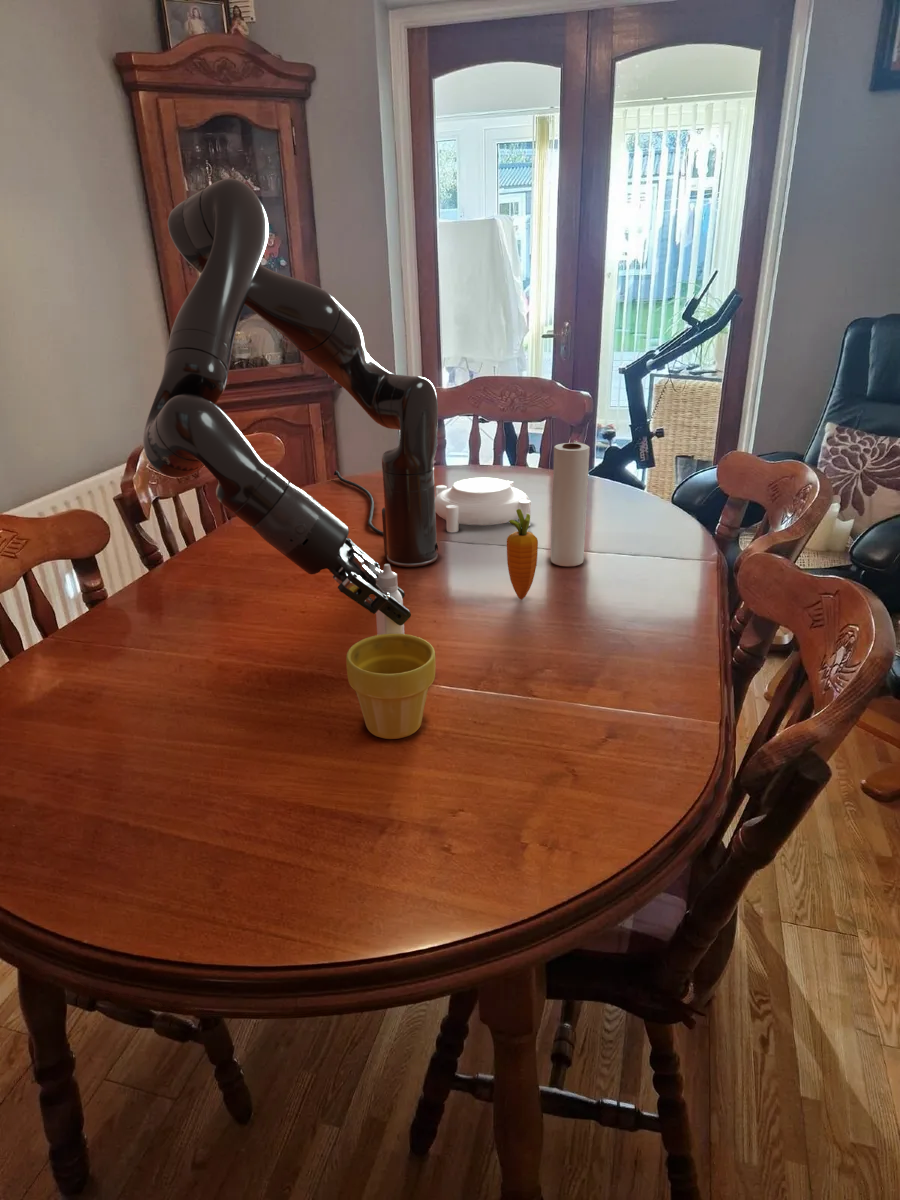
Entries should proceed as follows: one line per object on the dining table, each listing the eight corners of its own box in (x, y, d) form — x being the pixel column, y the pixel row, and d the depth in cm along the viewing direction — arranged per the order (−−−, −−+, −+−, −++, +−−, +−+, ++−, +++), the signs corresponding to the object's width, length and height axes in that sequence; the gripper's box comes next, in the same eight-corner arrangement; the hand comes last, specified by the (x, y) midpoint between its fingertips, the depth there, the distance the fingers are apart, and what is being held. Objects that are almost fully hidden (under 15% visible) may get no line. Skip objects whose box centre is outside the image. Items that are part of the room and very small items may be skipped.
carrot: (535, 606, 121) (537, 516, 114) (504, 604, 122) (504, 515, 115) (538, 594, 125) (540, 507, 119) (508, 592, 126) (508, 506, 120)
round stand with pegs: (467, 495, 179) (466, 465, 176) (557, 511, 166) (558, 479, 163) (403, 522, 161) (402, 490, 158) (498, 542, 148) (498, 507, 145)
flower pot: (449, 708, 94) (447, 638, 90) (419, 755, 85) (415, 680, 81) (373, 695, 97) (368, 627, 93) (336, 740, 88) (329, 666, 84)
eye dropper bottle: (368, 657, 97) (362, 571, 92) (382, 638, 102) (377, 555, 97) (401, 661, 96) (396, 574, 91) (413, 641, 101) (410, 558, 96)
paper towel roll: (568, 570, 134) (574, 451, 125) (543, 561, 138) (546, 445, 130) (594, 559, 139) (601, 444, 130) (569, 551, 143) (574, 438, 134)
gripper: (281, 531, 98) (379, 607, 104) (278, 572, 85) (389, 655, 91) (319, 489, 96) (415, 568, 103) (321, 523, 83) (431, 612, 90)
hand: (402, 609), depth 97 cm, fingers closed on eye dropper bottle, 5 cm apart
